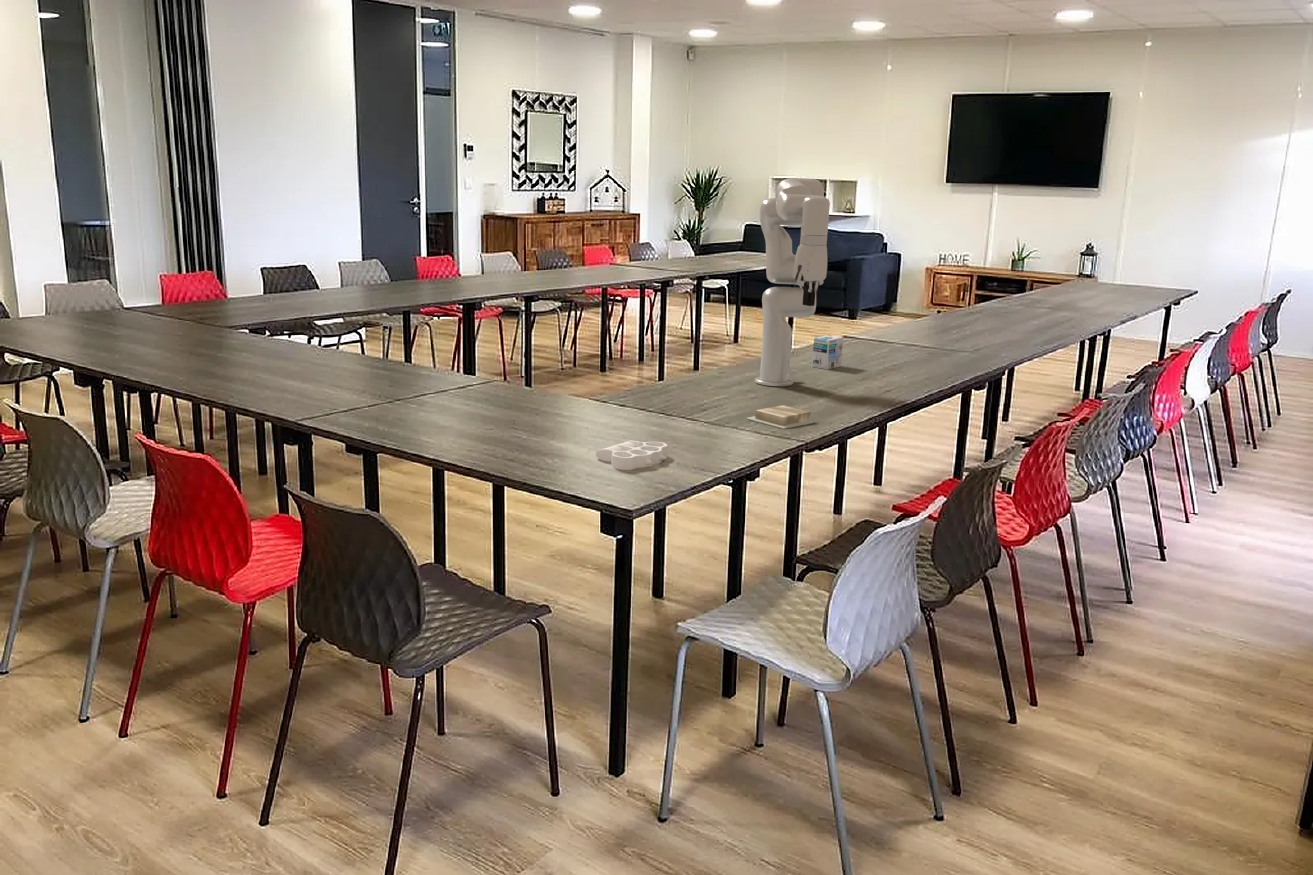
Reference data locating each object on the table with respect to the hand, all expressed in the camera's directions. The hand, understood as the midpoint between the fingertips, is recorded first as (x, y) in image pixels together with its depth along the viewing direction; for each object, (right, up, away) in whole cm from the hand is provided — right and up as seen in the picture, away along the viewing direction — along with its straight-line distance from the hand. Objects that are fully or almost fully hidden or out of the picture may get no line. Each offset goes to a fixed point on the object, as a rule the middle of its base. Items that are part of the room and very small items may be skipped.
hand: (808, 305), depth 307 cm
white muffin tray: (-49, -44, -54) cm, 85 cm away
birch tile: (-4, -31, -4) cm, 32 cm away
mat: (-9, -34, -9) cm, 36 cm away
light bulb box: (+18, -13, +77) cm, 80 cm away
